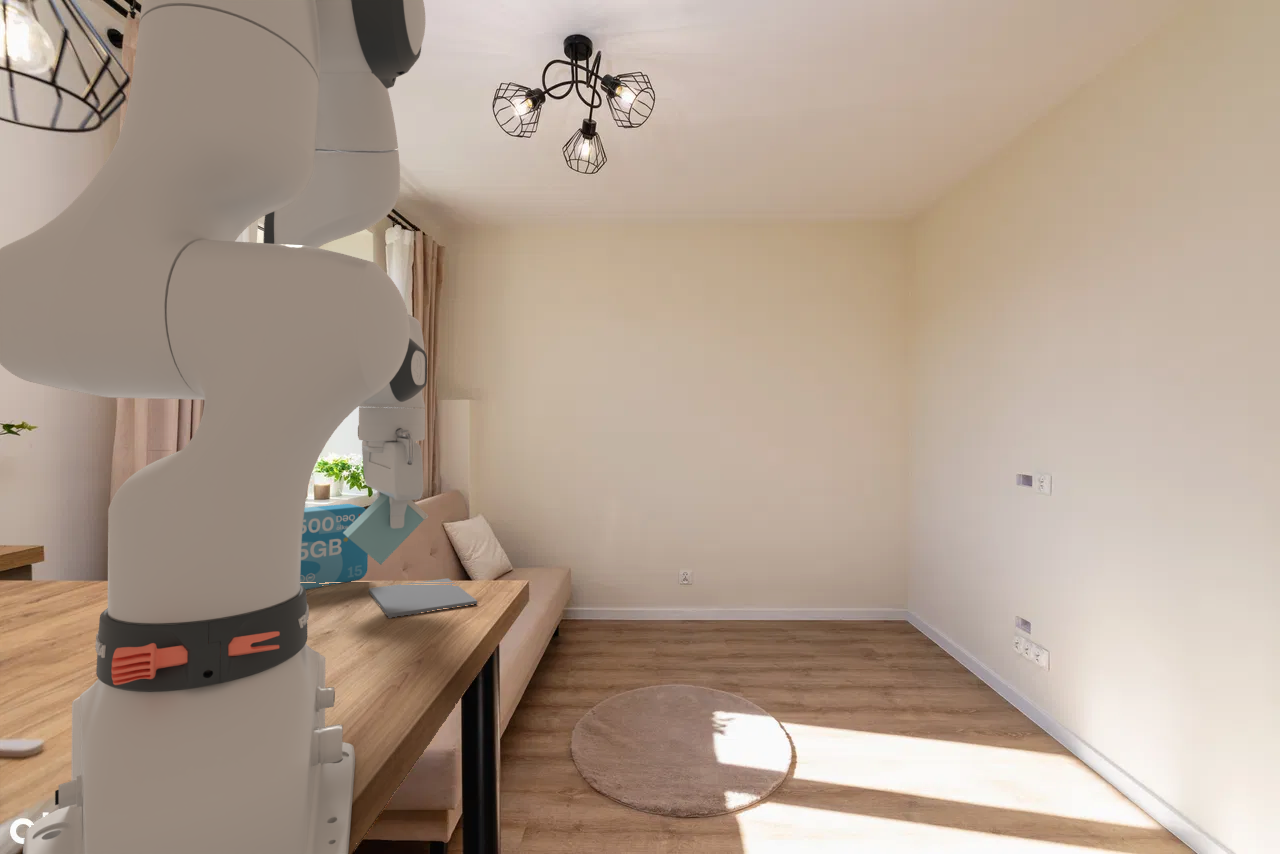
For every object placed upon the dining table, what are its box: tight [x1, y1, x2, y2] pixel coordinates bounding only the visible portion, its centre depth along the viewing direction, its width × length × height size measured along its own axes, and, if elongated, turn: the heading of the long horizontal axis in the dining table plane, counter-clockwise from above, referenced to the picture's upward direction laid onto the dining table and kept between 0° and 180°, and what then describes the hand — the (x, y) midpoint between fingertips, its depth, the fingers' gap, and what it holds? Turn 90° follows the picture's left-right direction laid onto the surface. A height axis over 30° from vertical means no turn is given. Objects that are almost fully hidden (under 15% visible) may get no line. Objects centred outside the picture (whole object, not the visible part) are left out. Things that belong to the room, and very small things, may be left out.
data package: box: [300, 503, 369, 591], centre depth 99 cm, size 12×4×12 cm, turn 139°
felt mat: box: [368, 577, 478, 619], centre depth 92 cm, size 14×12×1 cm
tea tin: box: [343, 494, 430, 565], centre depth 89 cm, size 4×6×9 cm
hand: (391, 524), depth 89 cm, fingers closed on tea tin, 4 cm apart
